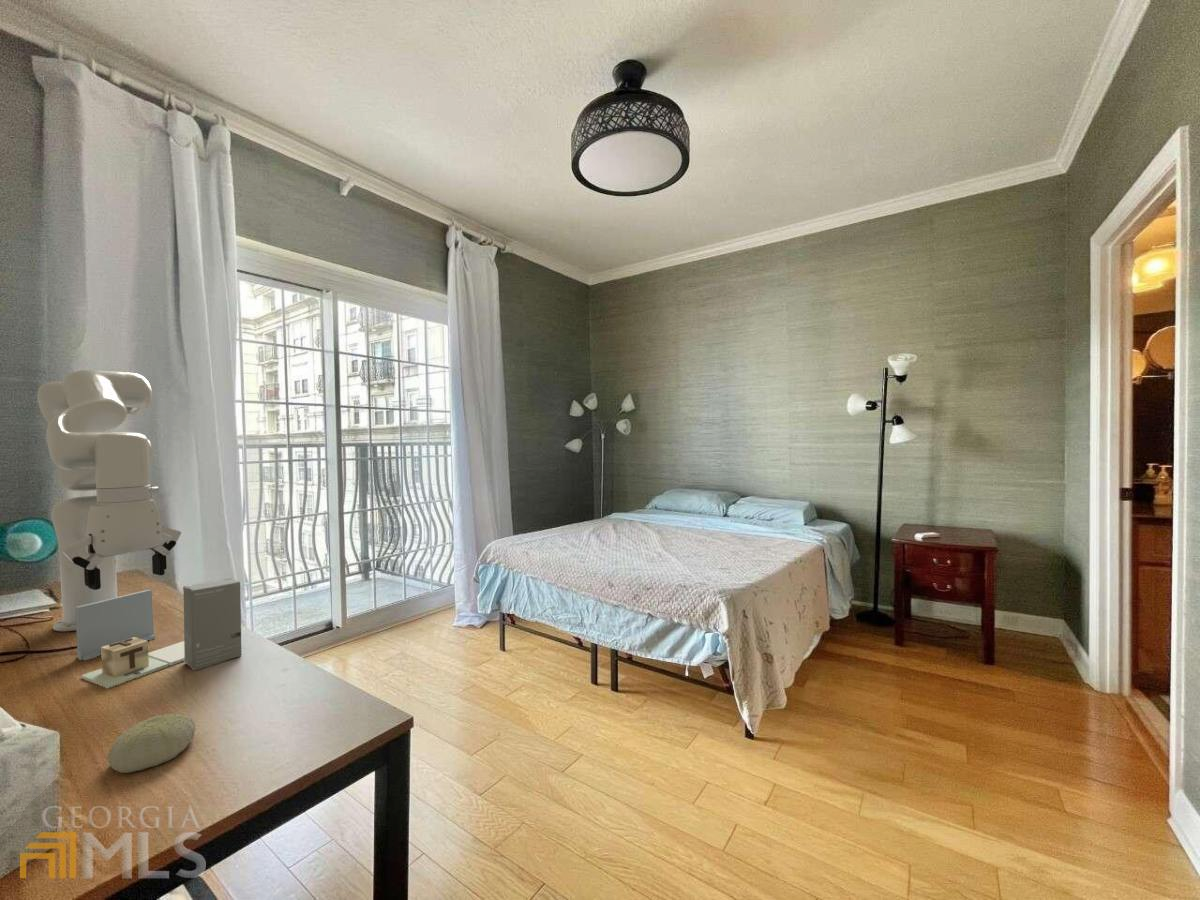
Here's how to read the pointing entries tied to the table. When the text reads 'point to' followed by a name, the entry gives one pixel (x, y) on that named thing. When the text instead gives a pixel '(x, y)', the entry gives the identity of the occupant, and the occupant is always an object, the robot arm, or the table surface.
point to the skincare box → (212, 622)
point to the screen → (113, 622)
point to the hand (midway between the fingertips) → (128, 581)
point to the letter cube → (124, 656)
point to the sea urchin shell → (151, 742)
